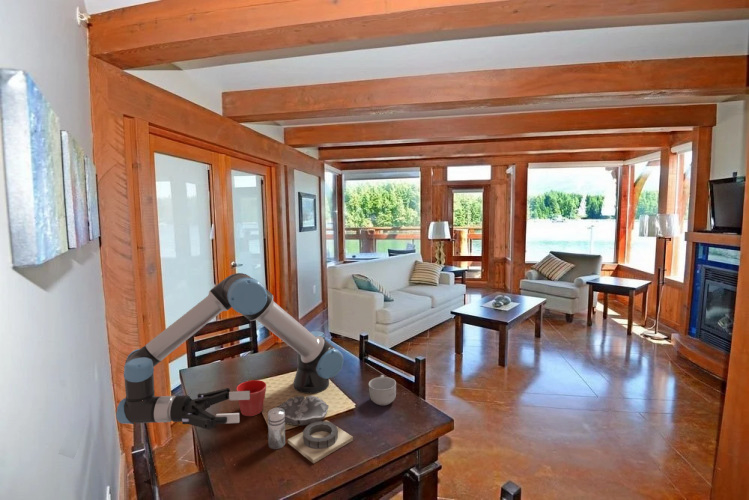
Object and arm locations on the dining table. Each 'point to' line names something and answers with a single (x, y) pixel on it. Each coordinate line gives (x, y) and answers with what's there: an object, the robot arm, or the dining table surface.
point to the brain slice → (304, 410)
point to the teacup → (382, 390)
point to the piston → (276, 428)
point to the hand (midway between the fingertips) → (244, 405)
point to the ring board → (321, 452)
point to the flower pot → (252, 397)
